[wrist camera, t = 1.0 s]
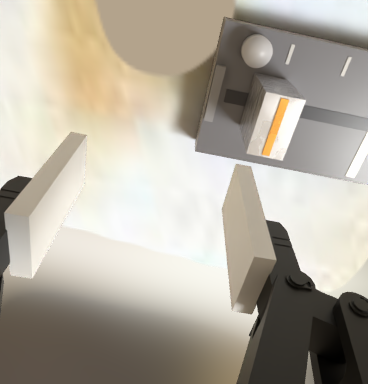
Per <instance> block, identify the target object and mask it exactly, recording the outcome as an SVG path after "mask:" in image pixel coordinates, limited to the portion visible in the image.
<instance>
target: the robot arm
mask: <svg viewBox="0 0 368 384" xmlns="http://www.w3.org/2000/svg"><path fill="white" fill-rule="evenodd" d="M86 147H87V135H84V134H79V133H74V132H71V133H70V134H69V135H68V136H67V137H66V139H65V140H64V141H63V142H62V143H61V145H60V146H59V147H58V148H57V149H56V151H55V152H54V153H53V154H52V155H51V157H50V158H49V159H48V160H47V162H46V163H45V164H44V165H43V166H42V168H41V169H40V170H39V171H38V172H37V174H36V175H35V176H34V177H33V178H28V177H22V176H18V177H15V178H13V179H11V180H9V181H7V182H6V184H5V185H4V186H3V187H2V188H1V190H0V312H1V304H2V294H3V284H4V280H3V272H4V271H5V269H6V268H7V266H8V265H10V266H9V267H10V275H13V276H19V277H25V278H31V279H32V278H33V276H34V275H35V273H36V271H37V269H38V267H39V266H40V264H41V262H42V260H43V258H44V257H45V255H46V253H47V251H48V249H49V247H50V246H51V244H52V242H53V240H54V238H55V237H56V235H57V233H58V231H59V229H60V228H61V226H62V224H63V222H64V220H65V219H66V217H67V215H68V213H69V211H70V210H71V208H72V206H73V204H74V202H75V201H76V199H77V197H78V195H79V193H80V192H81V190H82V188H83V186H84V184H85V167H86ZM222 215H223V225H224V235H225V245H226V255H227V265H228V275H229V284H230V285H229V286H230V296H231V306H232V311H234V312H241V313H248V314H252V313H253V311H254V309H255V307H256V305H257V308H258V313H259V315H258V317H257V319H256V321H255V323H254V325H253V328H252V330H251V332H250V334H249V336H251V337H250V341H249V344H248V347H247V350H246V354H245V357H244V361H243V364H242V367H241V370H240V374H239V377H238V380H237V384H305V377H306V369H307V359H308V351H309V352H310V358H311V364H312V371H313V376H314V383H315V384H368V299H367V298H365V297H364V296H362V295H359V294H357V293H353V292H345V293H342V295H341V296H340V297H339V299H336V298H334V297H332V296H330V295H327V294H325V293H322V292H320V291H318V290H317V289H316V288H315V284H314V282H313V281H312V279H311V278H310V277H309V276H307V275H306V274H305V273H303V272H301V271H300V268H299V265H298V262H297V259H296V256H295V253H294V250H293V248H292V245H291V242H290V239H289V236H288V233H287V231H286V229H285V228H284V227H283V226H282V225H281V224H280V223H279V222H274V221H268V220H265V216H264V212H263V209H262V205H261V201H260V198H259V194H258V190H257V187H256V183H255V180H254V176H253V172H252V169H251V167H250V166H245V165H239V164H236V165H235V168H234V172H233V175H232V178H231V181H230V185H229V188H228V191H227V194H226V198H225V201H224V204H223V207H222Z"/></svg>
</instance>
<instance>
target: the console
mask: <svg viewBox="0 0 368 384" xmlns="http://www.w3.org/2000/svg"><path fill="white" fill-rule="evenodd" d="M255 73H259V74H263V75H268V76H273V77H277V78H282V79H287V80H289V82H290V83H291V84H292V85H293V86H294V87H295V88H296V90H297V91H298V92H299V93H300V94H301V95H302V96H303V98H304V99H305V100H306V102H305V104H304V107H303V109H302V112H301V114H300V117H299V120H298V122H297V125H296V127H295V130H294V132H293V135H292V138H291V140H290V143H289V145H288V148H287V151H286V153H285V156H284V158H283V161H282V160H277V159H271V158H266V157H261V156H256V155H251V154H246V150H245V146H244V143H243V139H242V135H241V132H240V128H239V125H240V121H241V118H242V115H243V111H244V108H245V104H246V101H247V98H248V94H249V91H250V87H251V84H252V81H253V77H254V74H255ZM195 151H196V152H201V153H207V154H212V155H217V156H222V157H227V158H232V159H237V160H243V161H248V162H253V163H258V164H263V165H268V166H273V167H279V168H284V169H289V170H294V171H299V172H304V173H309V174H315V175H320V176H325V177H330V178H335V179H340V180H345V181H351V182H356V183H361V184H366V185H368V49H365V48H361V47H356V46H352V45H347V44H343V43H339V42H334V41H330V40H325V39H321V38H316V37H312V36H307V35H303V34H298V33H294V32H289V31H285V30H280V29H276V28H271V27H267V26H262V25H258V24H254V23H249V22H245V21H240V20H236V19H231V18H227V17H224V19H223V23H222V28H221V32H220V36H219V41H218V45H217V49H216V54H215V58H214V62H213V67H212V71H211V75H210V80H209V84H208V88H207V93H206V97H205V101H204V106H203V110H202V114H201V119H200V123H199V127H198V132H197V136H196V141H195Z"/></svg>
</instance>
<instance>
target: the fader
mask: <svg viewBox="0 0 368 384" xmlns="http://www.w3.org/2000/svg"><path fill="white" fill-rule="evenodd" d="M305 102H306V100H305V99H304V98H303V96H302V95H301V94H300V93H299V92H298V91H297V90H296V88H295V87H294V86H293V85H292V84H291V83H290V82H289V80H287V79H282V78H277V77H273V76H268V75H263V74H259V73H255V74H254V77H253V81H252V84H251V87H250V91H249V94H248V98H247V101H246V104H245V108H244V111H243V115H242V118H241V121H240V125H239V128H240V132H241V135H242V139H243V143H244V146H245V150H246V154H251V155H256V156H261V157H266V158H271V159H277V160H282V161H283V158H284V156H285V153H286V151H287V148H288V145H289V143H290V140H291V138H292V135H293V132H294V130H295V127H296V125H297V122H298V120H299V117H300V114H301V112H302V109H303V107H304V104H305Z"/></svg>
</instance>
